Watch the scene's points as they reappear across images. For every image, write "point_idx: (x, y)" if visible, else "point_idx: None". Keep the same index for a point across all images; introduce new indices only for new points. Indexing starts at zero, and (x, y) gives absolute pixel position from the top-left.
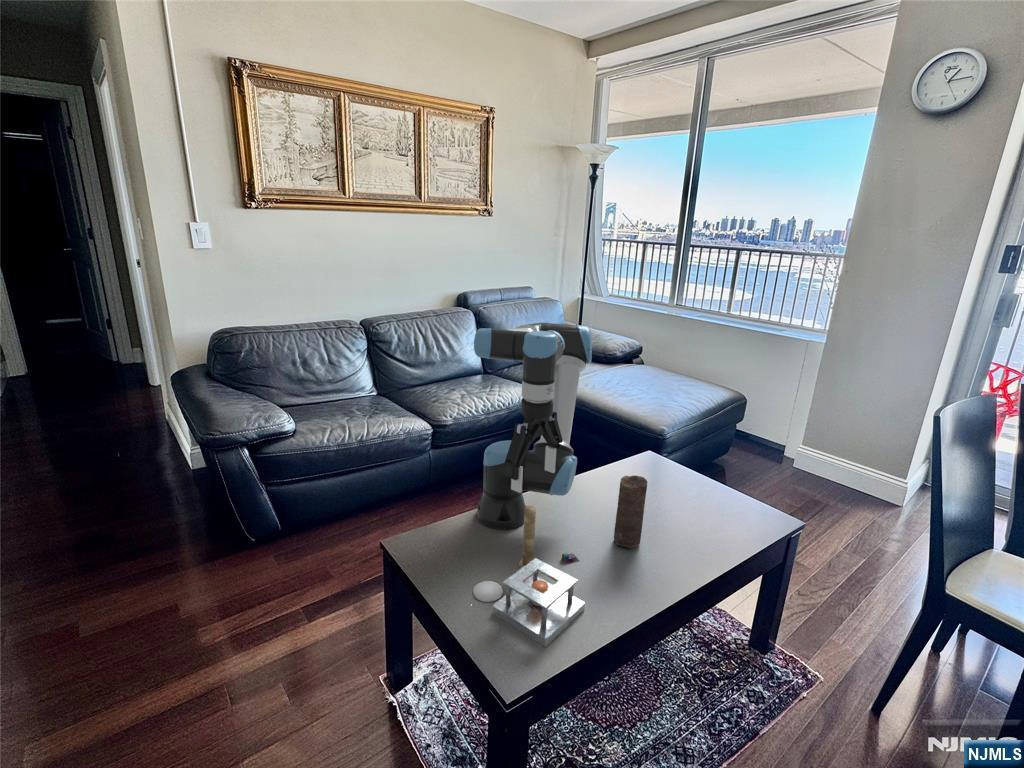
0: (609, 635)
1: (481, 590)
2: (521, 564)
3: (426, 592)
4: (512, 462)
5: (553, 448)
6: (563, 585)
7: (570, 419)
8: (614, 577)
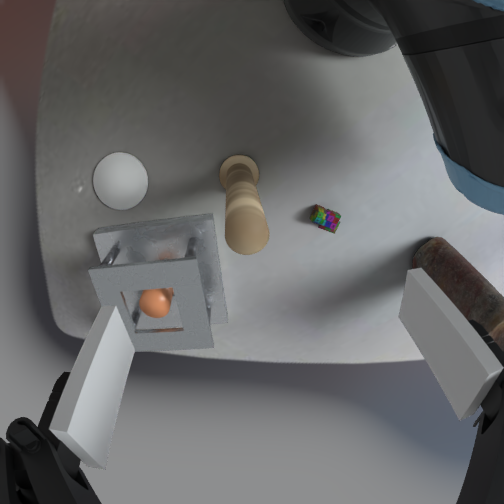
0: (215, 355)
1: (109, 173)
2: (225, 168)
3: (38, 114)
4: (17, 491)
5: (473, 407)
6: (180, 342)
7: None
8: (332, 297)
